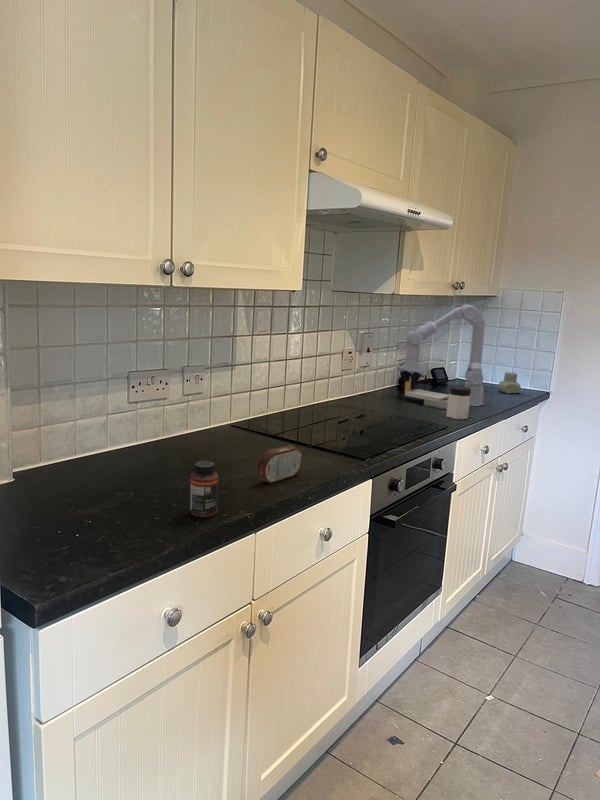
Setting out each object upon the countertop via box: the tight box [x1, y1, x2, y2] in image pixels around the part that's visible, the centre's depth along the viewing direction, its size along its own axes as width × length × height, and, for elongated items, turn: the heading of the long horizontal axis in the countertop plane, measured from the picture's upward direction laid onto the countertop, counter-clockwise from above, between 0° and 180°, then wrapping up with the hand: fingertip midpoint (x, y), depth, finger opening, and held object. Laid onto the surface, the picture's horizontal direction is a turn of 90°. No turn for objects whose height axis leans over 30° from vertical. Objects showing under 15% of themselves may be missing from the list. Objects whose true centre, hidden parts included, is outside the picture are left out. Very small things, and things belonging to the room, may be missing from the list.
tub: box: [423, 398, 448, 411], centre depth 259 cm, size 10×16×4 cm, turn 50°
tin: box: [256, 444, 304, 484], centre depth 155 cm, size 15×3×8 cm, turn 139°
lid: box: [404, 380, 449, 402], centre depth 265 cm, size 11×19×6 cm, turn 50°
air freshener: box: [497, 371, 522, 394], centre depth 303 cm, size 11×8×10 cm
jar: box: [445, 385, 471, 420], centre depth 240 cm, size 9×8×12 cm
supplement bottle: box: [189, 460, 219, 518], centre depth 130 cm, size 6×6×11 cm
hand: (409, 388), depth 270 cm, fingers closed on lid, 2 cm apart
